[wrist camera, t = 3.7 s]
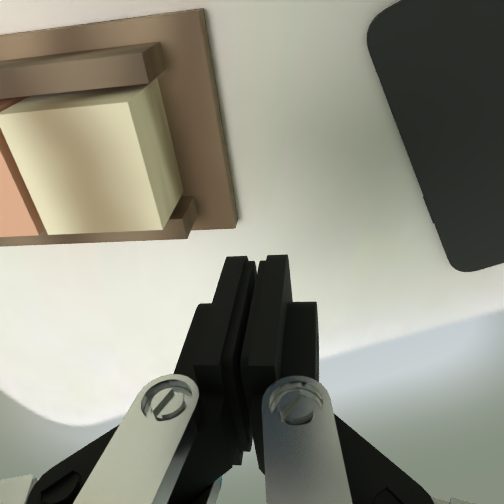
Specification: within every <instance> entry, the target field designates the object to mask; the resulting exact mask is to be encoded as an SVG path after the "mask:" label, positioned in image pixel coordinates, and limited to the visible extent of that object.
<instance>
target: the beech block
mask: <svg viewBox="0 0 504 504" xmlns="http://www.w3.org/2000/svg"><path fill="white" fill-rule="evenodd" d="M0 128H1V130H2V133H3V135H4V137H5V139H6V142H7V144H8V146H9V148H10V150H11V153H12V155H13V157H14V159H15V162H16V164H17V166H18V168H19V171H20V173H21V175H22V177H23V180H24V182H25V184H26V186H27V189H28V191H29V193H30V195H31V198H32V200H33V202H34V204H35V207H36V209H37V211H38V213H39V216H40V218H41V220H42V222H43V224H44V227H45V229H46V231H47V233H48V235H58V234H80V233H103V232H125V231H148V230H163V229H164V227H165V225H166V223H167V221H168V219H169V218H170V216H171V214H172V212H173V210H174V208H175V207H176V205H177V203H178V201H179V199H180V197H181V196H182V194H183V192H184V190H183V186H182V181H181V177H180V173H179V169H178V164H177V160H176V156H175V151H174V147H173V143H172V139H171V134H170V130H169V126H168V121H167V117H166V113H165V109H164V104H163V100H162V96H161V91H160V87H159V83H158V79H157V77H156V78H155V79H154V80H153V81H151V82H150V83H148V84H138V85H129V86H119V87H110V88H100V89H91V90H81V91H71V92H62V93H52V94H43V95H33V96H29V97H27V98H26V99H24V100H22V101H20V102H18V103H16V104H14V105H13V106H11V107H9V108H7V109H5V110H3V111H1V112H0Z"/></svg>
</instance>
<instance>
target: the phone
mask: <svg viewBox="0 0 504 504" xmlns="http://www.w3.org/2000/svg"><path fill="white" fill-rule="evenodd" d="M367 45H368V50H369V53H370V56H371V58H372V61H373V64H374V66H375V69H376V72H377V74H378V77H379V79H380V82H381V85H382V87H383V90H384V93H385V95H386V98H387V100H388V103H389V106H390V108H391V111H392V114H393V116H394V119H395V122H396V124H397V127H398V129H399V132H400V135H401V137H402V140H403V143H404V145H405V148H406V150H407V153H408V156H409V158H410V161H411V164H412V166H413V169H414V171H415V174H416V177H417V179H418V182H419V185H420V187H421V190H422V192H423V195H424V197H423V198H424V200H425V203H426V206H427V208H428V211H429V213H430V216H431V219H432V221H433V223H434V224H435V227H436V229H437V232H438V234H439V237H440V240H441V242H442V245H443V248H444V250H445V253H446V255H447V258H448V260H449V262H450V264H451V265H452V266H453V267H454V268H455V269H456V270H459V271H462V272H472V271H477V270H481V269H484V268H487V267H491V266H494V265H497V264H501V263H504V0H401V1H399V2H397V3H395V4H393V5H392V6H390V7H388V8H386V9H385V10H383V11H382V12H381V13H379V14H378V15H377V16H376V17H375V18H374V20H373V21H372V22H371V24H370V26H369V29H368V32H367Z"/></svg>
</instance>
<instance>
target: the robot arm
mask: <svg viewBox="0 0 504 504" xmlns="http://www.w3.org/2000/svg"><path fill="white" fill-rule="evenodd" d="M252 439H253V440H254V444H255V450H256V454H257V460H258V465H259V469H260V470H261V471H262V472H263V474H264V475H265V482H266V502H267V504H475V503H471V502H468V501H464V500H460V499H457V498H453V497H451V499H450V502H448V501H445V500H441V499H437V498H434V497H431V496H430V495H429V494H428V493H427V492H426V491H425V490H424V489H423V488H422V487H421V486H420V485H419V484H418V483H417V482H415V481H414V480H413V479H412V478H411V477H409V476H408V475H407V474H406V473H405V472H403V471H402V470H401V469H400V468H399V467H397V466H396V465H395V464H394V463H393V462H391V461H390V460H389V459H388V458H387V457H385V456H384V455H383V454H382V453H381V452H379V451H378V450H377V449H375V447H373V446H372V445H371V444H370V443H369V442H367V441H366V440H365V439H364V438H363V437H361V436H360V435H359V434H358V433H357V432H355V431H354V430H353V429H352V428H351V427H349V426H348V425H347V424H346V423H345V422H343V421H342V420H341V419H340V418H339V417H337V416H336V415H335V414H334V413H333V408H332V404H331V399H330V397H329V394H328V392H327V390H326V389H325V388H324V387H323V386H322V384H321V383H319V334H318V314H317V302H293V301H292V291H291V280H290V270H289V260H288V255H268V256H267V259H266V261H260V262H259V267H258V272H257V271H256V264H255V261H248V258H247V256H233V257H226V260H225V263H224V266H223V269H222V272H221V276H220V279H219V282H218V285H217V288H216V292H215V295H214V298H213V301H212V303H207V304H199V305H198V307H197V309H196V311H195V314H194V317H193V320H192V323H191V325H190V328H189V331H188V334H187V337H186V340H185V343H184V345H183V348H182V351H181V354H180V357H179V360H178V362H177V365H176V368H175V371H174V374H169V375H165V376H161V377H159V378H157V379H154V380H152V381H151V382H150V383H148V384H147V385H146V386H144V387H143V389H142V390H141V391H140V392H139V394H138V395H137V397H136V398H135V400H134V402H133V403H132V405H131V407H130V408H129V410H128V412H127V413H126V415H125V417H124V418H123V420H122V422H121V423H120V425H118V426H117V427H115V428H113V429H112V430H110V431H109V432H107V433H106V434H104V435H103V436H101V437H99V438H98V439H96V440H95V441H93V442H91V443H90V444H88V445H87V446H85V447H84V448H82V449H81V450H79V451H77V452H76V453H74V454H73V455H71V456H70V457H68V458H66V459H65V460H64V461H62V462H60V463H59V464H57V465H55V466H54V467H52V468H51V469H50V470H49V471H47V472H46V473H45V474H43V475H42V477H41V478H36V477H35V475H34V474H31V475H26V476H21V477H15V478H9V479H4V480H0V504H216V500H217V498H218V494H219V491H220V489H221V484H222V475H223V474H224V473H226V472H227V471H228V470H229V469H231V468H232V465H241V464H242V457H243V451H247V452H250V450H251V446H252Z"/></svg>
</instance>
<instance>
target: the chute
mask: <svg viewBox="0 0 504 504" xmlns="http://www.w3.org/2000/svg"><path fill="white" fill-rule="evenodd" d="M156 77H157V79H158V83H159V87H160V91H161V96H162V100H163V104H164V109H165V113H166V117H167V121H168V126H169V130H170V134H171V139H172V143H173V147H174V151H175V156H176V160H177V164H178V169H179V173H180V177H181V181H182V186H183V190H184V192H183V194H182V196H181V197H180V199H179V201H178V203H177V205H176V207H175V208H174V210H173V212H172V214H171V216H170V218H169V219H168V221H167V223H166V225H165V227H164V229H163V230H148V231H125V232H103V233H80V234H58V235H48V233H47V231H46V229H45V230H44V231H43V232H42V233H41V234H40V235H35V236H12V237H0V246H22V245H47V244H72V243H96V242H121V241H146V240H171V239H187V238H188V236H189V234H190V231H191V230H210V229H233V228H236V224H237V221H238V217H237V211H236V205H235V199H234V193H233V187H232V181H231V175H230V169H229V163H228V157H227V151H226V145H225V139H224V133H223V126H222V120H221V114H220V108H219V102H218V96H217V90H216V84H215V78H214V72H213V66H212V60H211V54H210V48H209V42H208V36H207V30H206V24H205V18H204V12H203V8H202V9H194V10H187V11H179V12H172V13H164V14H156V15H149V16H141V17H134V18H126V19H119V20H111V21H104V22H96V23H88V24H81V25H73V26H66V27H58V28H51V29H43V30H36V31H28V32H20V33H13V34H5V35H0V99H5V98H14V97H24V96H33V95H43V94H52V93H62V92H71V91H81V90H91V89H100V88H110V87H119V86H129V85H138V84H148V83H150V82H151V81H153V80H154V79H155V78H156Z"/></svg>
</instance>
